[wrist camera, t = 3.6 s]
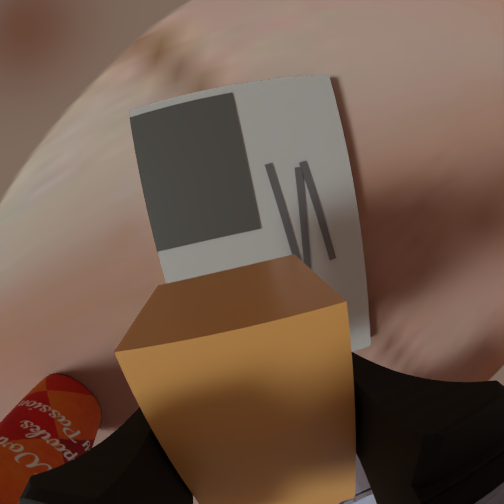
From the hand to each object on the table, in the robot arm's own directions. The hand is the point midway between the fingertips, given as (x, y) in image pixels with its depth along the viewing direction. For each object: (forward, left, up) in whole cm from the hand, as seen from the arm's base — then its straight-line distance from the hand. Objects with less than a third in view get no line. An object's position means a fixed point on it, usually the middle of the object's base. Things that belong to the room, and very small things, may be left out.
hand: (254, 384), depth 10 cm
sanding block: (0, 0, -1) cm, 1 cm away
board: (+4, -2, -9) cm, 10 cm away
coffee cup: (-6, +16, -9) cm, 19 cm away
